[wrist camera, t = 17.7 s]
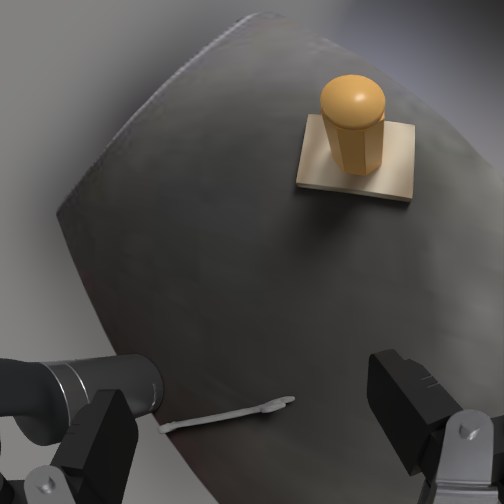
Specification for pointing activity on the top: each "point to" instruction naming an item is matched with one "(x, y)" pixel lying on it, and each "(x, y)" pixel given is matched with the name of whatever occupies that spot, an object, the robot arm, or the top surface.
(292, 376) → the top surface
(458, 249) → the top surface
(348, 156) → the octagonal lidded canister
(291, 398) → the combination wrench
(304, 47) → the top surface
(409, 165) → the post board
